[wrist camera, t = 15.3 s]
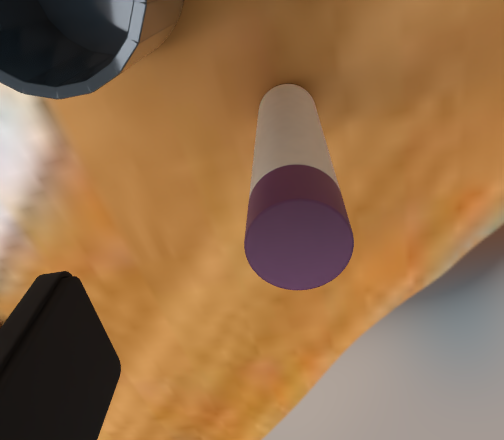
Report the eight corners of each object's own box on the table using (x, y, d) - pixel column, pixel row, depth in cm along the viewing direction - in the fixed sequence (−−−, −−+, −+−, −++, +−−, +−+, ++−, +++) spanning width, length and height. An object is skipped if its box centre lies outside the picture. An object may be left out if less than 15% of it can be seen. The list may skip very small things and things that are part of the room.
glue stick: (250, 129, 24) (230, 273, 13) (270, 75, 23) (265, 184, 11) (302, 147, 25) (327, 303, 13) (324, 95, 23) (373, 220, 12)
